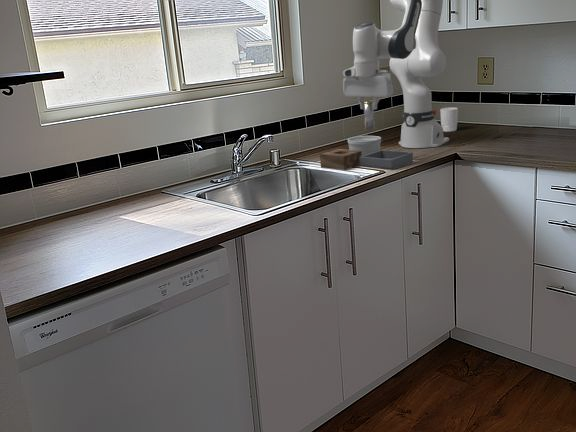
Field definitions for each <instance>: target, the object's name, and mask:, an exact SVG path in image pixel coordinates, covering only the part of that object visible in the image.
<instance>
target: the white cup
mask: <svg viewBox="0 0 576 432" xmlns="http://www.w3.org/2000/svg"><path fill="white" fill-rule="evenodd" d="M439 112H440V113H439V115H440V125H441V126H442V127H443V132H445V133H446V132H449V133H450V132H455V131H457V129H458V127H457V126H458V119H459V117H458V115H459V109H458V107H442V108H440V109H439Z"/></svg>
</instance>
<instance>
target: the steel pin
mask: <svg viewBox="0 0 576 432" xmlns="http://www.w3.org/2000/svg"><path fill="white" fill-rule="evenodd" d="M363 101H364V109H363V116H364V130H374V129H375V118H374V117H375V115H374V111H375V110H372V109H371V105H373V102H374V100H363Z"/></svg>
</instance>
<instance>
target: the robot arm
mask: <svg viewBox="0 0 576 432" xmlns="http://www.w3.org/2000/svg"><path fill="white" fill-rule="evenodd" d="M443 1H444V0H389V2H390V4H391V5H392V6H393V8H395V9H396V10H398V11H400V12H404V15H403V19H402V23H401V26H400V27H399V28H396V29H393V30H391V29H390V30H382V29H379V28H378V27H376V24H375V22H371V21H369V22H364V23H359V24H357V25H356V26H354V28H353V32H352V51H353V54H354V60H353V66H352V67H349V68H347V69H345V70H343V71H342V76H343V79H342V91H343V95H344V96H345V97H348V98H350V97H351V98H352V97H353V98H355V97H356V99H357V100H356V101H357V102H358V105H359V107H360V110H364V101H365V100H364V98H372V101H373V105H371V109H372V110H373V111H375V110H377V109H378V103H379V102H380V98H390V97H392V96H393V94H394V85H393V79H392V77H393V75H395V76H396V78H397V79H398V81H399V84H400V87H401V89H402V95H403V96H402V97H403V113H402V117H403V119H402V120H403V123H402V125H401V129H400V130H401V133H400V140H399V141H398V145H400V147H402V148H406V149H408V148H409V149H421V148H422V149H424V148H437V147H440V146H442V145H444V144H446V143H447V142H449V141H450V137H446V136H444V131H443V127H442V125H441V123H439V122H437V120H436V119H435V116H437V115H438V110H437V109H432V107H433V106H432V104H433V103H432V91H431V89H430V88H429V87H427V85H426V84H425V83H424V80H423V78H424V77H425V78H431V77H435V76H438V75H441V74H442V73H443V72H444V71H445V68H446V65H447V57H446V56H445V53H444V52H443V51H442V50H441V48H440V45H439V40H438V39H439V37H438V35H439V34H438V33H439V28H440V27H439V26H440V21H441V17H442V13H443V12H442V11H443ZM414 47H415V48H414ZM379 59H389V68H390V71H389V70H388V69H384V70H383V69H382V70H381V69H380V60H379ZM391 72H392V73H393V75H392V73H391Z"/></svg>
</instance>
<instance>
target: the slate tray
mask: <svg viewBox="0 0 576 432" xmlns="http://www.w3.org/2000/svg"><path fill="white" fill-rule="evenodd" d="M413 153H414V152H411V151H401V150H388V149H387V150H385V149H380V150H379V151H376V152H373V153H370V154H367V155H364V156H361V157H359V161H360V165H359V167H363V168H373V169H382V170H395V169H398V168H400V167H403V166H406V165H408V164H411V163H413V162H414V155H413Z"/></svg>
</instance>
